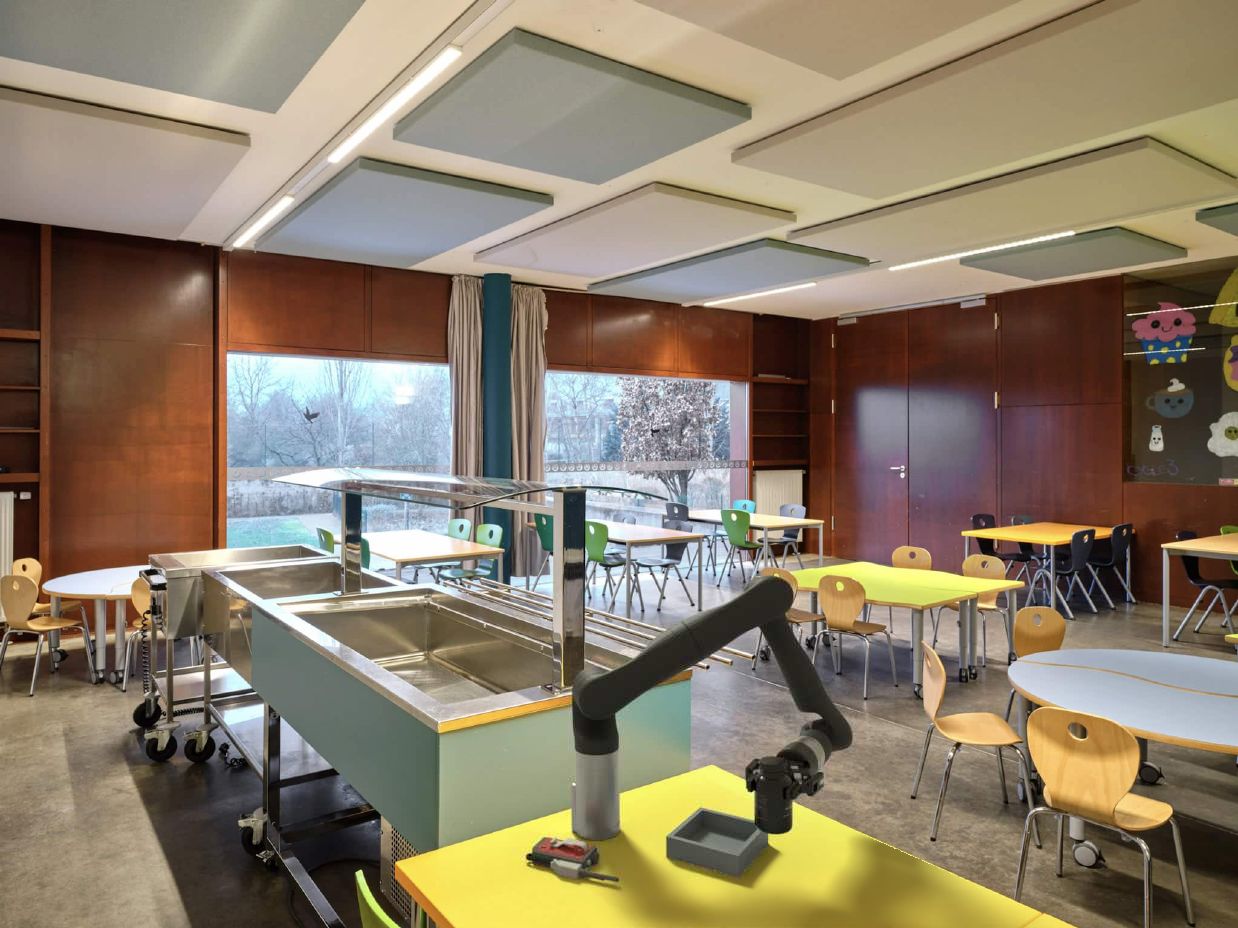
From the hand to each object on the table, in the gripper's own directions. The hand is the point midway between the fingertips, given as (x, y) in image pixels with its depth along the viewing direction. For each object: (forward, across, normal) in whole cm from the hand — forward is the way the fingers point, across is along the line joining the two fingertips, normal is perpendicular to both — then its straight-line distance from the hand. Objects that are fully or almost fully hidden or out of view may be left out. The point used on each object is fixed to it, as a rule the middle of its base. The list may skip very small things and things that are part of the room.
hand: (768, 791), depth 141 cm
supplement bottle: (-2, 0, +7) cm, 8 cm away
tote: (-8, -14, +18) cm, 24 cm away
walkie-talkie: (+11, -34, +18) cm, 40 cm away
